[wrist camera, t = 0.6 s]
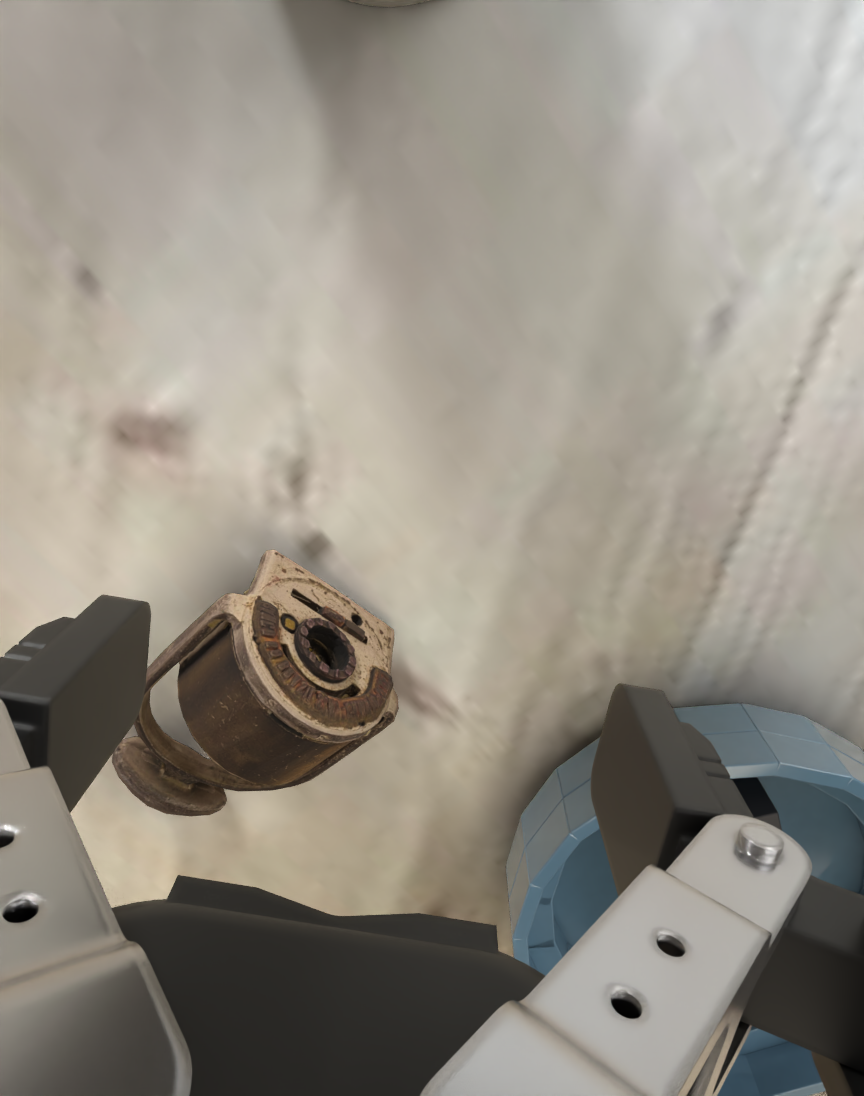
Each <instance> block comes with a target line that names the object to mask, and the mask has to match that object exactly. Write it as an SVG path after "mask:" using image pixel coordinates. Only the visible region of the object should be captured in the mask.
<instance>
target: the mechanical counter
mask: <svg viewBox="0 0 864 1096" xmlns="http://www.w3.org/2000/svg"><path fill="white" fill-rule="evenodd" d="M393 645H394V630H393V629H392V628H390V627H389V626H388V625H387V624H385V623H384V622H383V621H381V620H380V619H378V618H377V617H375V616H374V615H372V614H370V613H369V612H368V611H366V610H365V609H363V608H362V607H360V606H359V605H357V604H356V603H355V602H353V601H352V600H350V599H349V598H347V597H346V596H345V595H343V594H342V593H340V592H339V591H337V590H336V589H334V588H333V587H331V586H330V585H328V584H327V583H325V582H324V581H322V580H321V579H319V578H318V577H316V576H315V575H313V574H312V573H310V572H309V571H307V570H306V569H304V568H302V567H301V566H299V565H298V564H296V563H295V562H293V561H292V560H290V559H288V558H287V557H285V556H284V555H282V554H281V553H279V552H277V551H276V550H267V551H266V552H265V553H264V554H263V556H262V557H261V560H260V564H259V567H258V569H257V572H256V575H255V577H254V579H253V581H252V583H251V586H250V588H249V589H248V590H247V591H245V592H244V595H240V594H235V593H227V594H225V595H224V596H222V597H221V598H219V599H218V600H217V601H216V602H215V603H214V604H213V605H212V606H211V607H210V608H208V609H207V610H206V611H205V612H204V613H203V614H202V615H201V616H200V617H199V618H198V619H197V620H196V621H195V622H193V623H192V624H191V625H190V626H189V627H188V628H187V629H186V630H185V631H184V632H183V633H182V634H181V635H180V636H179V637H178V638H177V639H176V640H175V641H174V642H173V643H171V644H170V645H169V646H168V647H167V648H166V649H165V650H164V651H163V652H162V653H161V654H160V655H159V656H158V657H157V658H156V659H155V661H154V662H153V663H152V664H151V665H150V666H149V667H148V668H147V673H146V685H145V693H144V698H143V702H142V705H141V709H140V711H139V714H138V716H137V718H136V720H135V722H134V725H135V728H136V730H137V733H138V735H139V736H134V737H130V738H126V739H124V740H122V741H121V742H120V744H119V745H118V746H117V748H116V749H115V751H114V752H113V758H112V763H113V765H114V768H115V770H116V772H117V774H118V777H119V778H120V779H121V780H122V782H123V783H124V784H125V785H126V786H127V788H128V789H129V790H130V791H131V792H132V794H134V795H135V796H136V797H137V798H139V799H140V800H141V801H142V802H143V803H145V804H146V805H147V806H149V807H151V808H154V809H156V810H159V811H161V812H163V813H166V814H174V815H184V816H201V815H210V814H213V813H215V812H217V811H219V810H221V809H222V808H223V806H224V805H225V804H226V801H227V799H226V795H225V792H224V789H229V790H234V791H268V790H276V789H281V788H286V787H292V786H296V785H299V784H301V783H304V782H307V781H310V780H311V779H313V778H315V777H316V776H318V775H319V774H321V773H323V772H324V771H326V770H327V769H328V768H330V767H331V766H333V765H334V764H335V763H337V762H338V761H340V760H341V759H343V758H344V757H345V756H347V755H348V754H350V753H351V752H352V751H354V750H355V749H357V748H358V747H359V746H361V745H362V744H364V743H365V742H367V741H368V740H369V739H371V738H372V737H374V736H375V735H377V734H378V733H379V732H381V731H382V730H383V729H385V728H386V727H387V726H388V725H390V724H391V723H392V722H393V721H394V719H395V717H396V714H397V712H398V709H399V707H398V696H397V694H396V692H395V691H394V689H393V682H392V677H391V676H390V673H391V662H392V652H393ZM178 662H179V664H180V669H179V675H178V699H179V703H180V707H181V711H182V714H183V717H184V719H185V722H186V724H187V726H188V728H189V730H190V732H191V734H192V736H193V737H194V739H195V740H196V741H197V742H198V744H199V745H200V746H201V747H202V749H203V750H204V751H205V752H206V753H207V755H208V756H209V757H210V758H211V760H210V759H207V758H205V757H203V756H201V755H200V754H199V753H197V752H196V751H194V750H193V749H191V748H190V747H188V746H186V745H183V744H181V743H179V742H177V741H175V740H173V739H172V738H171V737H169V736H168V735H167V734H166V733H164V732H163V731H162V729H161V728H160V727H159V725H158V724H157V723H156V721H155V719H154V717H153V715H152V713H151V708H150V690H151V688H152V687H153V686H154V685H155V684H156V683H157V682H158V681H159V680H160V679H161V678H162V677H163V676H164V675H165V674H166V673H167V672H168V671H169V670H170V669H171V668H172V667H173V666H175V665H176V664H177V663H178ZM223 788H224V789H223Z"/></svg>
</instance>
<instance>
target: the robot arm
mask: <svg viewBox="0 0 864 1096" xmlns="http://www.w3.org/2000/svg"><path fill="white" fill-rule="evenodd" d="M348 1H351V2H354V3H358V4H363V5H369V6H378V7H400V6H407V5H413V4H418V3H421V2H425V1H429V0H348ZM150 621H151V611H150V606H149V603H148V602H144V601H138V600H132V599H126V598H120V597H114V596H108V595H101V596H100V597H98V598H97V599H96V600H95V601H94V602H93V603H92V604H91V605H90V606H88V607H87V608H86V609H85V610H84V611H83V612H82V613H81V614H80V615H79V616H77V617H76V618H75V619H74V618H68V617H62V618H60V619H57V620H54V621H52V622H49V623H46V624H44V625H41V626H39V627H36V628H35V629H34V630H33V631H31V632H30V633H29V634H28V635H27V636H25V637H24V638H23V639H22V640H21V641H20V642H19V645H15V646H14V647H12V648H11V649H10V650H9V651H8V652H6V653H5V656H4V657H1V658H0V1096H717V1095H718V1093H719V1091H720V1089H721V1087H722V1085H723V1083H724V1081H725V1079H726V1077H727V1075H728V1073H729V1071H730V1069H731V1068H732V1066H733V1064H734V1062H735V1060H736V1058H737V1056H738V1054H739V1052H740V1050H741V1048H742V1046H743V1044H744V1042H745V1041H746V1039H747V1037H748V1035H749V1032H750V1030H751V1027H752V1026H753V1027H756V1028H758V1029H760V1030H763V1031H765V1032H768V1033H770V1034H772V1035H775V1036H777V1037H779V1038H782V1039H784V1040H786V1041H789V1042H791V1043H794V1044H796V1045H798V1046H801V1047H803V1048H805V1049H808V1050H810V1051H811V1053H812V1057H813V1060H814V1063H815V1066H816V1068H817V1070H818V1073H819V1075H820V1078H821V1080H822V1083H823V1085H824V1088H825V1090H826V1093H827V1095H828V1096H864V895H861V894H858V893H855V892H853V891H850V890H847V889H844V888H842V887H839V886H836V885H833V884H831V883H828V882H826V881H823V880H821V879H818V878H816V877H814V876H812V875H811V872H812V863H811V860H810V858H809V856H808V854H807V853H806V851H805V850H804V849H803V848H802V847H801V846H800V845H799V844H798V843H797V842H796V841H795V840H794V839H793V838H791V837H790V836H789V835H787V834H786V833H784V832H783V831H781V830H779V829H778V828H776V827H774V826H772V825H770V824H768V823H766V822H763V821H760V820H758V819H755V818H754V817H753V815H752V813H751V811H750V810H749V808H748V806H747V804H746V803H745V801H744V799H743V797H742V796H741V794H740V792H739V790H738V789H737V787H736V785H735V783H734V782H733V780H730V774H729V773H728V771H727V769H726V767H725V766H724V764H721V761H722V760H721V759H720V757H719V755H718V753H717V752H716V750H715V748H714V746H713V745H712V743H711V741H709V740H708V739H707V738H706V737H705V736H704V735H702V734H701V733H700V732H699V731H698V730H697V729H696V728H694V727H693V726H692V725H691V724H690V723H684V722H679V720H678V718H677V716H676V714H675V713H674V711H673V709H672V707H671V705H670V703H669V701H668V699H667V697H666V695H665V694H664V692H663V691H661V690H656V689H650V688H644V687H638V686H632V685H626V684H618V685H617V686H616V687H615V689H614V691H613V694H612V696H611V700H610V703H609V707H608V711H607V714H606V718H605V722H604V725H603V729H602V733H601V736H600V740H599V744H598V747H597V751H596V754H595V758H594V762H593V767H592V773H591V798H592V803H593V806H594V810H595V814H596V817H597V821H598V824H599V828H600V832H601V835H602V839H603V843H604V846H605V850H606V853H607V857H608V861H609V864H610V868H611V872H612V875H613V879H614V883H615V886H616V890H617V893H618V898H617V899H616V900H615V901H614V902H613V903H612V905H611V906H610V907H609V908H608V909H607V910H606V911H605V912H604V913H603V914H602V915H601V916H600V918H599V919H598V920H597V921H596V922H595V923H594V924H593V925H592V926H591V927H590V928H589V929H588V931H587V932H586V933H585V934H584V935H583V936H582V937H581V938H580V939H579V940H578V941H577V943H576V944H575V945H574V946H573V947H572V948H571V949H570V950H569V951H568V952H567V953H566V954H565V956H564V957H563V958H562V959H561V960H560V961H559V962H558V963H557V964H556V965H555V966H554V967H553V969H552V970H551V971H550V972H549V973H548V974H547V975H546V976H545V975H543V974H542V973H540V972H539V971H537V970H535V969H534V968H532V967H530V966H529V965H527V964H525V963H523V962H521V961H519V960H517V959H515V958H513V957H511V956H509V955H506V954H504V953H501V952H498V941H497V927H496V925H489V924H483V923H477V922H470V921H464V920H458V919H451V918H445V917H439V916H432V915H426V914H420V913H416V914H391V915H366V916H334V915H330V914H327V913H324V912H321V911H319V910H316V909H313V908H311V907H308V906H305V905H302V904H300V903H297V902H294V901H292V900H289V899H286V898H283V897H281V896H278V895H275V894H273V893H270V892H267V891H265V890H262V889H259V888H256V887H249V886H243V885H237V884H230V883H224V882H218V881H211V880H205V879H199V878H192V877H186V876H180V875H178V876H177V878H176V881H175V883H174V885H173V887H172V889H171V892H170V894H169V896H168V898H167V899H163V900H151V901H144V902H136V903H131V904H127V905H122V906H118V907H114V908H111V906H110V904H109V902H108V899H107V897H106V895H105V892H104V890H103V888H102V886H101V883H100V881H99V879H98V876H97V874H96V872H95V870H94V867H93V865H92V863H91V861H90V858H89V856H88V854H87V851H86V849H85V847H84V845H83V842H82V840H81V838H80V835H79V833H78V831H77V829H76V826H75V824H74V822H73V819H72V817H71V815H70V812H71V811H72V810H73V808H74V807H75V805H76V804H77V803H78V801H79V800H80V798H81V797H82V796H83V794H84V793H85V791H86V790H87V789H88V787H89V786H90V784H91V783H92V782H93V780H94V779H95V777H96V776H97V774H98V773H99V772H100V770H101V769H102V767H103V766H104V765H105V763H106V762H107V760H108V759H109V758H110V756H111V755H112V753H113V752H114V751H115V749H116V748H117V746H118V745H119V744H120V742H121V741H122V739H123V738H124V737H125V735H126V734H127V732H128V731H129V729H130V728H131V727H132V725H133V724H134V722H135V720H136V718H137V716H138V714H139V711H140V709H141V705H142V702H143V698H144V693H145V685H146V673H147V660H148V647H149V634H150Z"/></svg>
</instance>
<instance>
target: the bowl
mask: <svg viewBox="0 0 864 1096" xmlns="http://www.w3.org/2000/svg"><path fill="white" fill-rule="evenodd" d="M673 711H674V713H675V714H676V716H677V718H678V720H679V722H684V723H690V724H691V725H692V726H693V727H694V728H696V729H697V730H698V731H699V732H700V733H701V734H702V735H704V736H705V737H706V738H707V739H708V740H709V741H711V743H712V745H713V746H714V748H715V750H716V752H717V753H718V755H719V757H720V759H721V760H722V761H721V764H724V766H725V767H726V769H727V771H728V773H729V774H730V779H738V778H752V777H758V779H759V781H760V782H761V784H762V786H763V787H764V789H765V791H766V793H767V794H768V796H769V798H770V799H771V801H772V803H773V805H774V806H775V808H776V810H777V811H778V814H779V818H780V823H781V828H782V831H783V832H784V833H786V834H787V835H789V836H790V837H791V838H793V839H794V840H795V841H796V842H797V843H798V844H799V845H800V846H801V847H802V848H803V849H804V850H805V851H806V853H807V854H808V856H809V858H810V860H811V863H812V872H811V875H812V876H814V877H816V878H818V879H821V880H823V881H826V882H828V883H831V884H833V885H836V886H839V887H842V888H844V889H847V890H850V891H853V892H855V893H858V894H861V895H864V752H863V751H862V750H861V748H859V747H858V746H857V745H855V744H853V743H852V742H850V741H848V740H846V739H845V738H843V737H841V736H839V735H837V734H836V733H834V732H832V731H830V730H829V729H827V728H825V727H823V726H822V725H820V724H818V723H816V722H815V721H813V720H811V719H809V718H807V717H805V716H803V715H798V714H793V713H789V712H784V711H779V710H774V709H769V708H764V707H760V706H755V705H750V704H745V703H732V704H719V705H706V706H692V707H679V708H673ZM599 740H600V737H599V738H598V739H596V740H595V741H593V742H592V743H591V744H589V745H588V746H586V747H585V748H584V749H582V750H581V751H579V752H578V753H577V754H575V755H574V756H572V757H571V758H570V759H568V760H567V761H565V762H564V763H563V764H561V765H560V766H558V768H556V769H555V770H554V771H553V773H552V774H551V775H550V777H549V778H548V779H547V780H546V782H545V783H544V784H543V786H542V787H541V788H540V790H539V791H538V792H537V794H536V795H535V796H534V798H533V799H532V800H531V802H530V803H529V804H528V806H527V807H526V808H525V810H524V811H523V812H522V815H521V817H520V820H519V824H518V827H517V830H516V833H515V837H514V840H513V843H512V847H511V850H510V853H509V856H508V860H507V863H506V875H507V886H508V898H509V909H510V921H511V932H512V944H513V955H514V958H515V959H517V960H519V961H521V962H523V963H525V964H527V965H529V966H530V967H532V968H534V969H535V970H537V971H539V972H540V973H542V974H543V975H545V976H546V975H547V974H548V973H549V972H550V971H551V970H552V969H553V967H554V966H555V965H556V964H557V963H558V962H559V961H560V960H561V959H562V958H563V957H564V956H565V954H566V953H567V952H568V951H569V950H570V949H571V948H572V947H573V946H574V945H575V944H576V943H577V941H578V940H579V939H580V938H581V937H582V936H583V935H584V934H585V933H586V932H587V931H588V929H589V928H590V927H591V926H592V925H593V924H594V923H595V922H596V921H597V920H598V919H599V918H600V916H601V915H602V914H603V913H604V912H605V911H606V910H607V909H608V908H609V907H610V906H611V905H612V903H613V902H614V901H615V900H616V899H617V898H618V893H617V890H616V886H615V883H614V879H613V875H612V872H611V868H610V864H609V861H608V857H607V853H606V850H605V846H604V843H603V839H602V835H601V832H600V828H599V824H598V821H597V817H596V814H595V810H594V806H593V803H592V798H591V773H592V767H593V762H594V758H595V754H596V751H597V747H598V744H599ZM825 1091H826V1090H825V1088H824V1085H823V1083H822V1080H821V1078H820V1075H819V1073H818V1070H817V1068H816V1066H815V1063H814V1060H813V1057H812V1053H811V1051H810V1050H808V1049H805V1048H803V1047H801V1046H798V1045H796V1044H794V1043H791V1042H789V1041H786V1040H784V1039H782V1038H779V1037H777V1036H775V1035H772V1034H770V1033H768V1032H765V1031H763V1030H760V1029H758V1028H756V1027H753V1026H752V1027H751V1030H750V1032H749V1035H748V1037H747V1039H746V1041H745V1042H744V1044H743V1046H742V1048H741V1050H740V1052H739V1054H738V1056H737V1058H736V1060H735V1062H734V1064H733V1066H732V1068H731V1069H730V1071H729V1073H728V1075H727V1077H726V1079H725V1081H724V1083H723V1085H722V1087H721V1089H720V1091H719V1093H718V1095H717V1096H810V1095H814V1094H818V1093H821V1092H825Z"/></svg>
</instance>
